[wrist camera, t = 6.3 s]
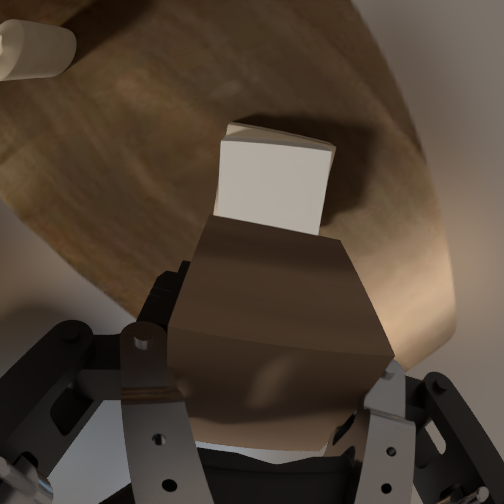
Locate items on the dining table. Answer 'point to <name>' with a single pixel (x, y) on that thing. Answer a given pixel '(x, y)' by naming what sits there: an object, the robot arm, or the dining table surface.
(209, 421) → the walnut block
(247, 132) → the slab lower
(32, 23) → the candle
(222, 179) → the slab upper
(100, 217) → the dining table surface
